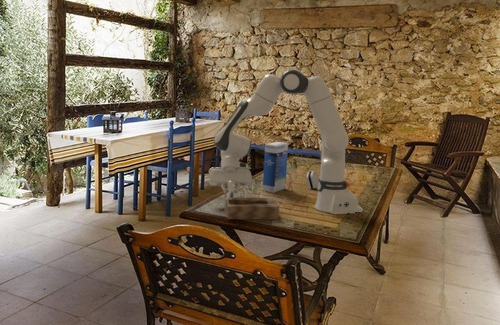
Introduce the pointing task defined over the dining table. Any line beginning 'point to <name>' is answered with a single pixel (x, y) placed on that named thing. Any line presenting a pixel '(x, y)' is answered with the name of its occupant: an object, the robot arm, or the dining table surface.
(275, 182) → the string lights box
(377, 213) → the dining table surface
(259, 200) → the wooden compartment tray
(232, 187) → the steel peg
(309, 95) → the robot arm
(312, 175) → the hinge
